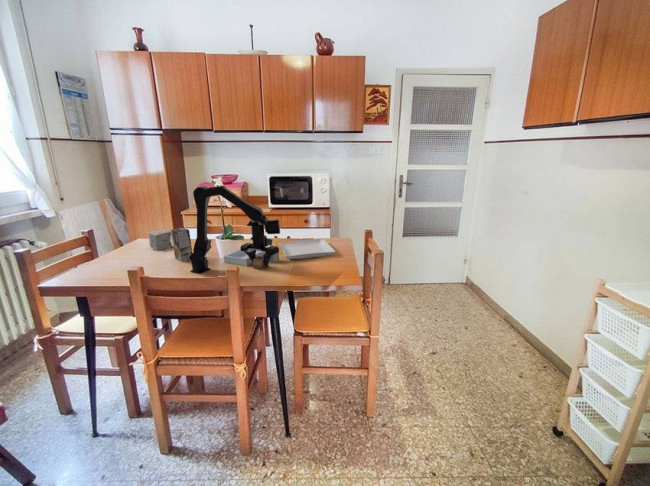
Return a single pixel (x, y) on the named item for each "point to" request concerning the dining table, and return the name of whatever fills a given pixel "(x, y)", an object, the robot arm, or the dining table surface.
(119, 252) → the dining table surface
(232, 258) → the tray
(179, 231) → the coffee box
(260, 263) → the walnut block
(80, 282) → the dining table surface
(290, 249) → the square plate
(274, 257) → the gauged block
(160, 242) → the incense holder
